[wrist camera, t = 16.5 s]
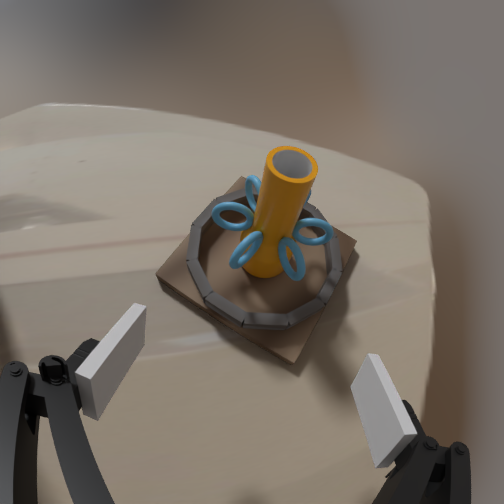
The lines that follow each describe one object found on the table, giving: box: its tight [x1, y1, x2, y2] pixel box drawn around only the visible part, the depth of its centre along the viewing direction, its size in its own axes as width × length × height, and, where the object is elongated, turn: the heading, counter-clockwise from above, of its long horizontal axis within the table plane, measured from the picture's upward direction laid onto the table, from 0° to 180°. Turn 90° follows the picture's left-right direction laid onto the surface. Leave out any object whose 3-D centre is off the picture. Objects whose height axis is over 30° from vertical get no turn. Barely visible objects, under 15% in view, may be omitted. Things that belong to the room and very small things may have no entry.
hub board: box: [156, 176, 357, 365], centre depth 34 cm, size 18×18×4 cm
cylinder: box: [212, 146, 334, 281], centre depth 28 cm, size 12×10×15 cm
